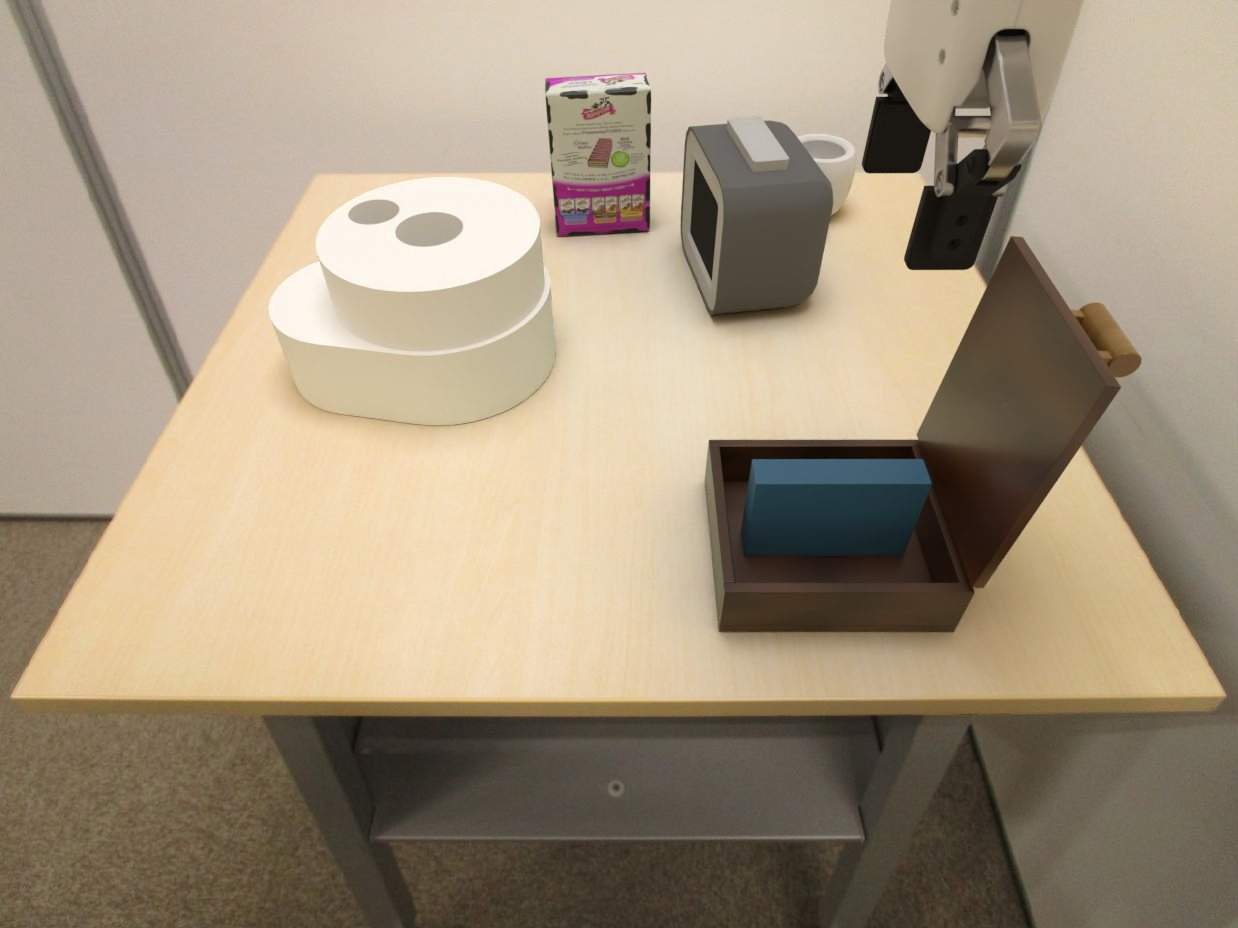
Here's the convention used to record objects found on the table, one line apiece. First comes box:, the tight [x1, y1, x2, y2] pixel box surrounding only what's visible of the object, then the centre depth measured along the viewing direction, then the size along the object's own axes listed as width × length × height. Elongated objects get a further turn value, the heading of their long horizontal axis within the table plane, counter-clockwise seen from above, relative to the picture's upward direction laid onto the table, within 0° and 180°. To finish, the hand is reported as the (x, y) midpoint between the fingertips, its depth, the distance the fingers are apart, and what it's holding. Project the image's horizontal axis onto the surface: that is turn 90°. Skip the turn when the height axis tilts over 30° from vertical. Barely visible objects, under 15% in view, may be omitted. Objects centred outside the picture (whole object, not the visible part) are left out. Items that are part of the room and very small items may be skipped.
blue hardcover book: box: [741, 459, 932, 556], centre depth 59 cm, size 12×2×8 cm, turn 90°
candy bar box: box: [544, 72, 652, 237], centre depth 91 cm, size 11×5×16 cm, turn 95°
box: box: [704, 439, 976, 633], centre depth 61 cm, size 17×15×5 cm
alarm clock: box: [680, 115, 833, 316], centre depth 83 cm, size 16×11×16 cm
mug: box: [797, 133, 857, 217], centre depth 95 cm, size 12×8×8 cm
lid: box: [916, 235, 1142, 589], centre depth 52 cm, size 17×15×5 cm
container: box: [268, 176, 557, 426], centre depth 74 cm, size 20×25×14 cm
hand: (911, 215), depth 42 cm, fingers open, 9 cm apart
